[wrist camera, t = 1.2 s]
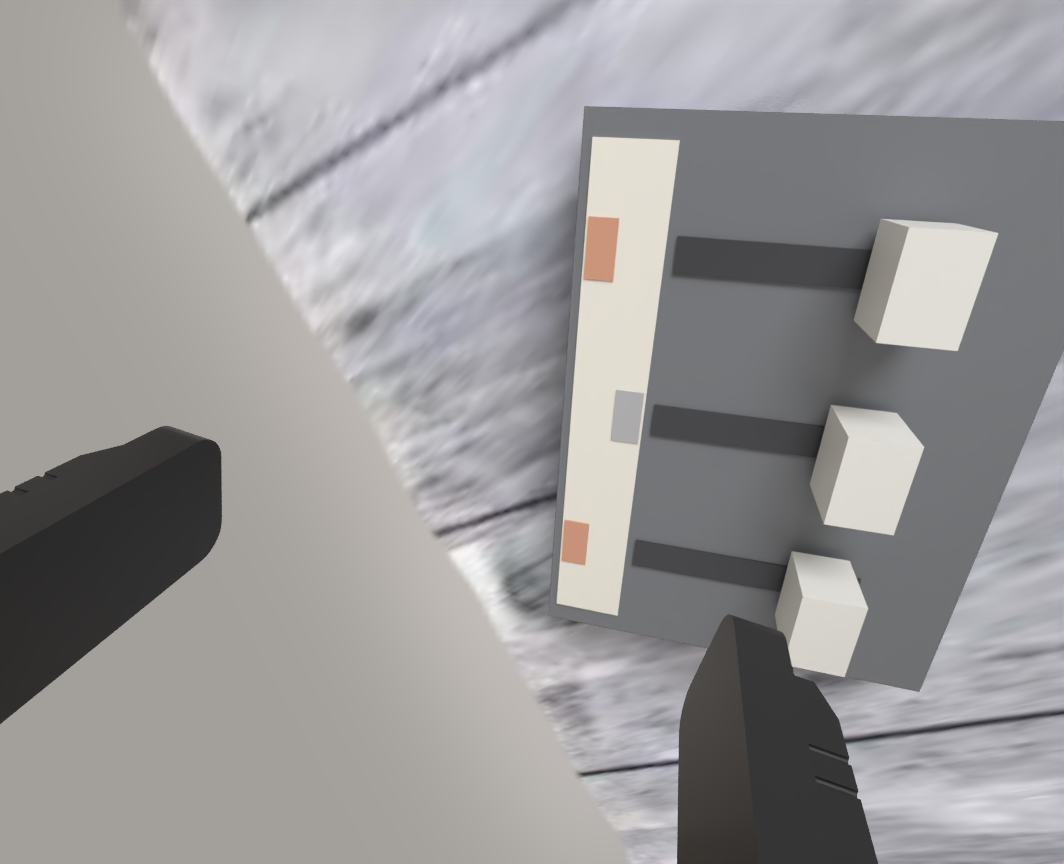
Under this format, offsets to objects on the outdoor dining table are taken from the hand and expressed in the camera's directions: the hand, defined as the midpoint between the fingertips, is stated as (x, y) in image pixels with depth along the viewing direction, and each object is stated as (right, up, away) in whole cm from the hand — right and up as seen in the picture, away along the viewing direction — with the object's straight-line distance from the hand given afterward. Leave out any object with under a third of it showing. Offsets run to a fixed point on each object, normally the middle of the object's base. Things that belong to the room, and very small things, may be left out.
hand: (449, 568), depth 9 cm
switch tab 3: (+14, +8, +12) cm, 21 cm away
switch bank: (+12, +4, +20) cm, 24 cm away
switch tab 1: (+14, +1, +15) cm, 21 cm away
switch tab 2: (+14, -5, +18) cm, 23 cm away
